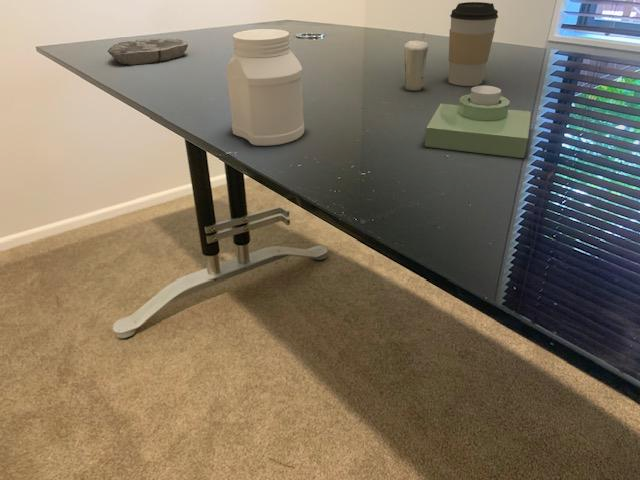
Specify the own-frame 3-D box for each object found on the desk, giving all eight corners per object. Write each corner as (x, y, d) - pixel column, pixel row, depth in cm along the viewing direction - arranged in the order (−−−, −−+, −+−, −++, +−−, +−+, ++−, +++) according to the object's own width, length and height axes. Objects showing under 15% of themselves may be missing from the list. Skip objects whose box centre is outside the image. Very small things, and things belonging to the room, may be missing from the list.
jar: (313, 135, 80) (311, 35, 72) (262, 150, 75) (253, 44, 67) (274, 117, 88) (267, 25, 80) (225, 130, 83) (213, 32, 75)
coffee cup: (434, 81, 105) (442, 2, 97) (459, 73, 110) (469, -3, 102) (471, 90, 99) (482, 6, 91) (496, 81, 104) (509, 1, 96)
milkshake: (430, 86, 102) (435, 34, 96) (418, 93, 98) (423, 38, 93) (409, 83, 104) (413, 31, 99) (397, 89, 100) (401, 36, 95)
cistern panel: (527, 128, 81) (533, 97, 78) (524, 158, 71) (531, 124, 68) (439, 119, 85) (442, 90, 82) (424, 146, 75) (427, 113, 72)
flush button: (500, 100, 78) (502, 86, 77) (497, 108, 75) (500, 94, 74) (471, 97, 80) (473, 84, 79) (467, 105, 76) (469, 92, 75)
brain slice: (169, 46, 140) (167, 35, 139) (197, 56, 129) (195, 44, 127) (98, 58, 130) (95, 45, 129) (121, 69, 119) (118, 56, 117)
